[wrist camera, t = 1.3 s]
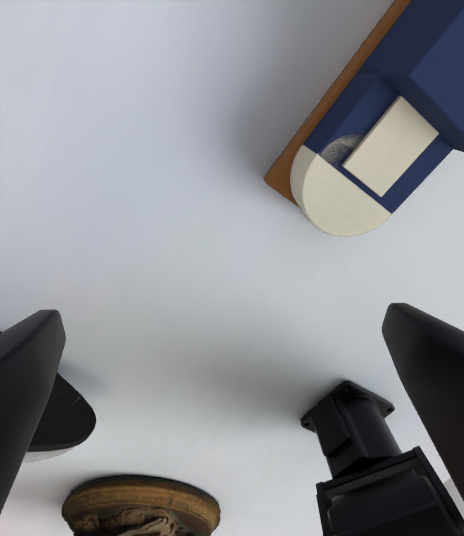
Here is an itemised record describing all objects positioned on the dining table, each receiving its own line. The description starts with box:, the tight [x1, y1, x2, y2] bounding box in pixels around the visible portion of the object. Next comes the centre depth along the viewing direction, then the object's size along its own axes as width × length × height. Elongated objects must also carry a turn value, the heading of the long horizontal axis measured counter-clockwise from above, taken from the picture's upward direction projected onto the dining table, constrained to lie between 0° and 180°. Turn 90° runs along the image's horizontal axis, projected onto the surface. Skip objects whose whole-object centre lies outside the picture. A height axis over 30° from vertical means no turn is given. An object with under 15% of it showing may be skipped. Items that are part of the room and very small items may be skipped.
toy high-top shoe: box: [264, 0, 464, 237], centre depth 17 cm, size 15×6×7 cm, turn 145°
